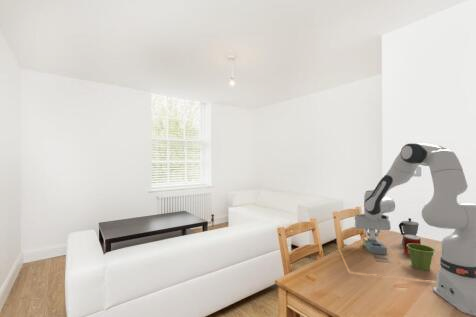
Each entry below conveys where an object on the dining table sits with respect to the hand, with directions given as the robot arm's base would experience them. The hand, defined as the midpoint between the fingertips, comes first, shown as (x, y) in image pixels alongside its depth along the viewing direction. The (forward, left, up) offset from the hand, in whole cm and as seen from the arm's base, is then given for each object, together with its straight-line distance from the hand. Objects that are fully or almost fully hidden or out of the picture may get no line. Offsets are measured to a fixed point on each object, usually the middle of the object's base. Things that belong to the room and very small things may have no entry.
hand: (372, 235), depth 149 cm
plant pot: (-25, -16, -8) cm, 31 cm away
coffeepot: (+11, -25, -8) cm, 28 cm away
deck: (-19, +1, -8) cm, 21 cm away
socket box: (-4, 0, -8) cm, 9 cm away
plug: (0, 0, -5) cm, 5 cm away
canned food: (-6, -20, -8) cm, 22 cm away
